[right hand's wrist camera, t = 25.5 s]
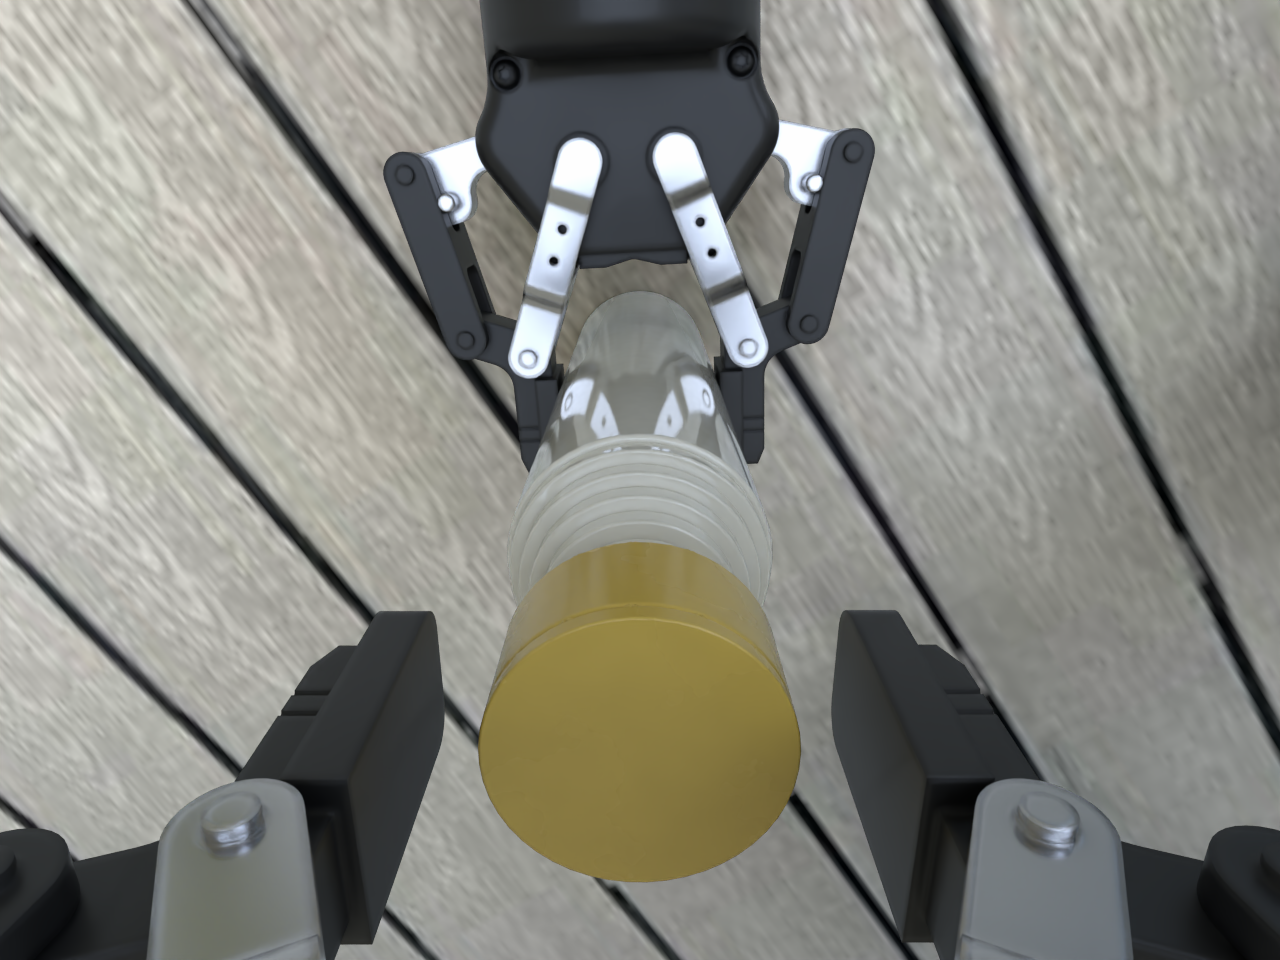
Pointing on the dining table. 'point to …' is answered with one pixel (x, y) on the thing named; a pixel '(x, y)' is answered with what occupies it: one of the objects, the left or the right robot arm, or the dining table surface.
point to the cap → (639, 716)
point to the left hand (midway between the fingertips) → (644, 476)
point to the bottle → (639, 453)
